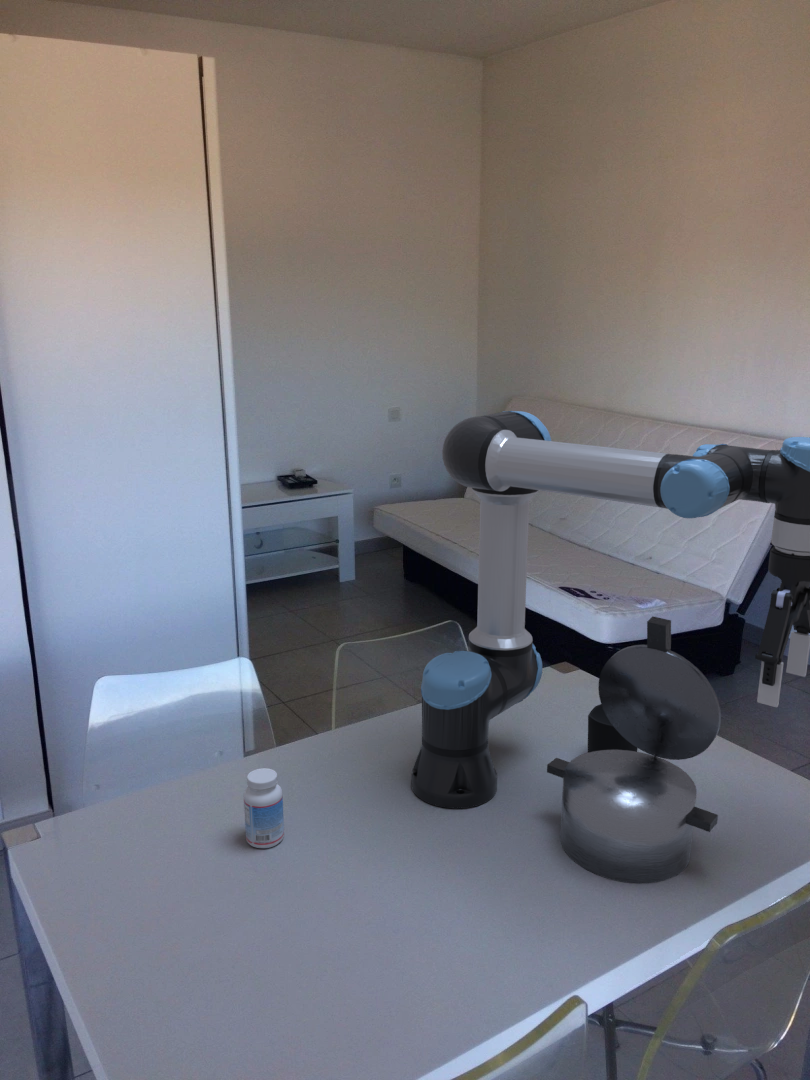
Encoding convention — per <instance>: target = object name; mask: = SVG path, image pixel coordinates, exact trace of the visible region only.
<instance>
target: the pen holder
mask: <svg viewBox="0 0 810 1080" xmlns="http://www.w3.org/2000/svg"><path fill="white" fill-rule="evenodd" d="M638 749H639V748H637V747H635V746H634V745H632V744H631V743H630V742H628V741H627V740H626V739H625V738H624V737H623V736H622V735H621V734H620V733H619V732H618V731H617V730H616V729H615V728H614V726H613V725H612V724H611V722H610V721H609V719H608V717H607V716H606V714H605V712H604V710H603V707H602V704H601V703H600V704H597V705H595V706H594V707H593V708H592V709H591V710H590V712H589V713H588V715H587V753H589V752H594V751H600V750H628V751H635V752H638Z"/></svg>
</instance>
